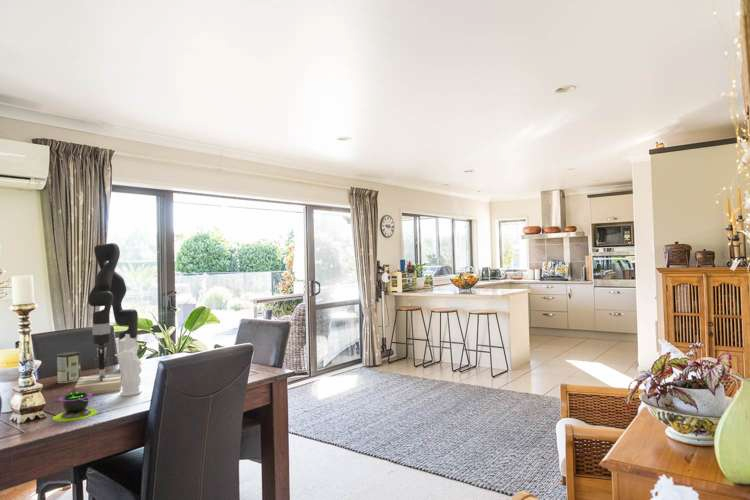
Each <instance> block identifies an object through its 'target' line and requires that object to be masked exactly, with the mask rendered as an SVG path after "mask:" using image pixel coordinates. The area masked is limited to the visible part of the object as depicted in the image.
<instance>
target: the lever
mask: <svg viewBox="0 0 750 500" xmlns="http://www.w3.org/2000/svg"><path fill="white" fill-rule="evenodd" d="M106 367H110V357H105V361H104V369H102V370H100V369H99V361H98V358H95V359H94V368H95V369H97V368H98V371H99V372H98V373H99V374H98V375H99V378H100V380H102V379H103V378H104V377H105V374H106Z"/></svg>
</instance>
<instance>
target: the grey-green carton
mask: <svg viewBox="0 0 750 500" xmlns="http://www.w3.org/2000/svg"><path fill="white" fill-rule="evenodd" d="M56 367H57V369H56V370H57V371H56V372H57V373H56V374H57V383H58V384H68V383H69V382H70V383H74V382H78V380H79V378H80V377H82V376H81V351H80V350H79V351H77V350H75V351H65V352H60V353H57V354H56ZM70 383H69V384H70Z"/></svg>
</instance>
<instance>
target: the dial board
mask: <svg viewBox="0 0 750 500" xmlns="http://www.w3.org/2000/svg"><path fill="white" fill-rule="evenodd" d="M121 380H122V377H121V372H120V371H119V372H113V373H105V377H104V378H103V379H102V380H100V378H99V374H94V375H84V376H81V377H80V378H79V380H78V381H76V382H77V383H76V384H75V385H74V394H75V393H77V392H78V393H89V394H87V396H90V393H91V394H93V395H96V394H97V395H98V394H104V393H113V392H119V391H120V392H122V385H121ZM79 388H80V389H79ZM81 388H86V389H87V390H86V389H81Z"/></svg>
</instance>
